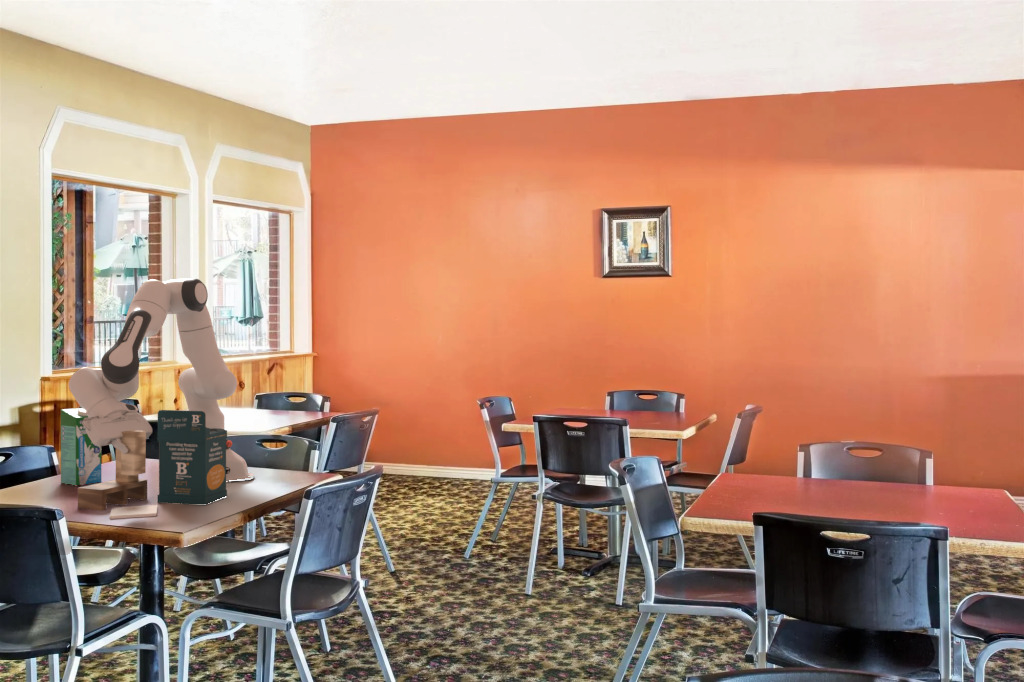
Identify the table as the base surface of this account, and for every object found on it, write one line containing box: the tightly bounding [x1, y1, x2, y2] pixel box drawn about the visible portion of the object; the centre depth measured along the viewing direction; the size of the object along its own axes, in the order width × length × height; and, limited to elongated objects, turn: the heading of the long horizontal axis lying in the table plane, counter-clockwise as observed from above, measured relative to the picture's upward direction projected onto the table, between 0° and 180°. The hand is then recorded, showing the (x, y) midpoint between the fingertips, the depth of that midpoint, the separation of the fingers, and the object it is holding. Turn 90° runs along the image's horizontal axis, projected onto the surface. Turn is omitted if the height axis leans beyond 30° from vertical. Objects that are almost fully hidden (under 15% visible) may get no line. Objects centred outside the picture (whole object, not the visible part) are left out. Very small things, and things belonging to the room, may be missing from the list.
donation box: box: [157, 409, 228, 505], centre depth 271 cm, size 16×16×28 cm
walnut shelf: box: [77, 478, 148, 512], centre depth 264 cm, size 18×9×6 cm, turn 161°
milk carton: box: [60, 407, 102, 486], centre depth 297 cm, size 9×9×25 cm
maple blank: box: [121, 430, 147, 475], centre depth 250 cm, size 4×4×12 cm
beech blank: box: [115, 448, 140, 482], centre depth 269 cm, size 4×4×12 cm
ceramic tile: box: [109, 504, 159, 520], centre depth 251 cm, size 12×12×1 cm
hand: (135, 451), depth 250 cm, fingers closed on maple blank, 4 cm apart
